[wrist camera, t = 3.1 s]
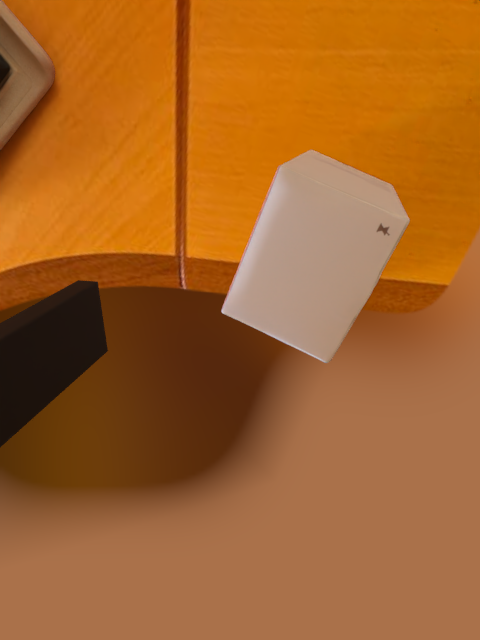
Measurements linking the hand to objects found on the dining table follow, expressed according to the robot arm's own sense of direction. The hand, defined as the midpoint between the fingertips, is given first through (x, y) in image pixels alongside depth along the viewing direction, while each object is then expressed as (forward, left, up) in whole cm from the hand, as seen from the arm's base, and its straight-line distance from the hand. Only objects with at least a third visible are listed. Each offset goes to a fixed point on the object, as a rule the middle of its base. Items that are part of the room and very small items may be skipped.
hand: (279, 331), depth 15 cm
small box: (0, 0, -20) cm, 20 cm away
